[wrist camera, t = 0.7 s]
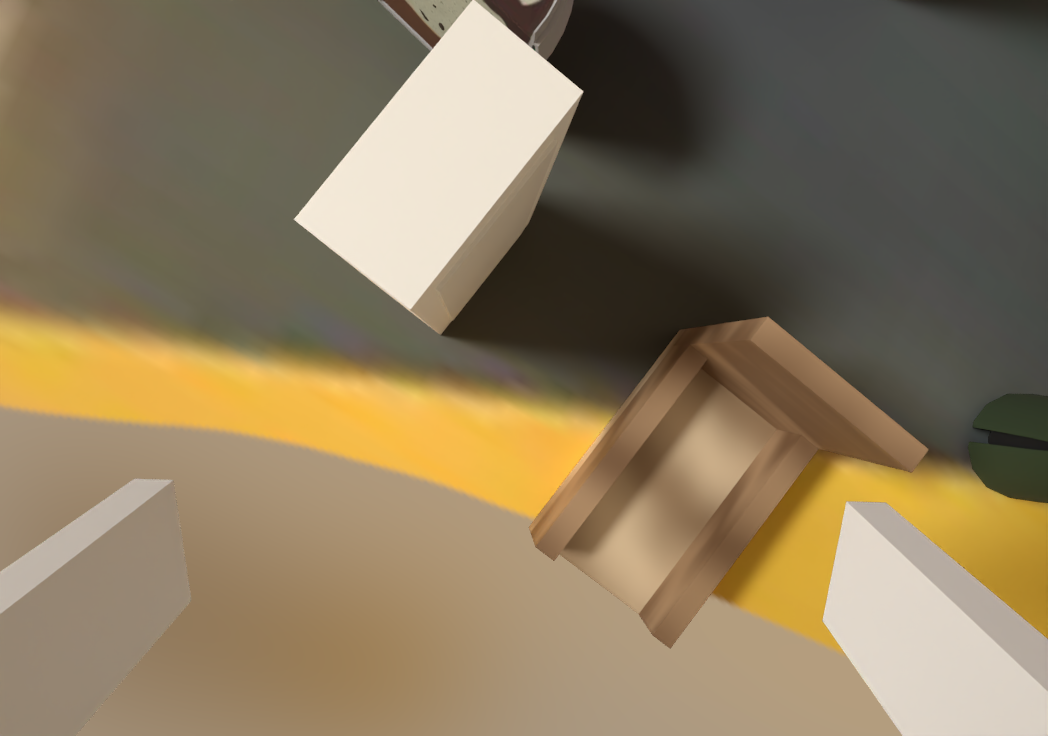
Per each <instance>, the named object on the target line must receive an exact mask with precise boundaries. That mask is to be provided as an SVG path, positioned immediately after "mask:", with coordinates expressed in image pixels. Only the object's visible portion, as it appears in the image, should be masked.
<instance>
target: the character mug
mask: <svg viewBox="0 0 1048 736" xmlns="http://www.w3.org/2000/svg"><path fill="white" fill-rule="evenodd" d="M973 427H975V428H981V429H986V430H992V431H991V433H990V435H989V437H988V443H989V444H984V443H976V442H969V445H968V450H969V455H970V459H971V463H972V468H973V470H974V471H975V472H976V474H977V475H978V476H979V478H980V479H981V480H982V482H983V483H984V484H985V485H986V487H988V488H990V489H992V490H994V491H997V492H999V493H1001V494H1003V495H1005V496H1007V497H1010V498H1015V499H1022V500H1029V501H1035V502H1043V503H1048V396H1041V395H1035V394H1006V395H1004V396H1002V397H1000V398H998V399H996V400H994V401H992V402H990V403H988V404H987V405H986V406H985V407H984V409H983V410H982V411H981V413H980V414H979V415H978V416H977V418H976V419H975V420H974V422H973Z"/></svg>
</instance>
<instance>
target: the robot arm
mask: <svg viewBox="0 0 1048 736" xmlns="http://www.w3.org/2000/svg"><path fill="white" fill-rule="evenodd" d="M190 602H191V594H190V587H189V581H188V574H187V567H186V561H185V554H184V548H183V541H182V534H181V527H180V521H179V514H178V508H177V501H176V494H175V487H174V481H173V480H153V479H152V480H151V479H133V480H132V481H131V482H129V483H128V484H126V485H125V486H123V487H122V488H121V489H119V490H118V491H116V492H115V493H114V494H112V495H110V496H109V497H108V498H106V499H105V500H104V501H102V502H100V503H99V504H97V505H96V506H95V507H93V508H92V509H90V510H89V511H87V512H86V513H84V514H83V515H82V516H80V517H79V518H77V519H76V520H74V521H73V522H71V523H70V524H69V525H67V526H66V527H64V528H63V529H62V530H60V531H59V532H57V533H56V534H54V535H53V536H51V537H50V538H48V539H47V540H45V541H44V542H43V543H41V544H40V545H38V546H37V547H36V548H34V549H33V550H31V551H30V552H28V553H27V554H25V555H24V556H22V557H21V558H20V559H18V560H17V561H15V562H14V563H12V564H11V565H9V566H8V567H7V568H5V569H4V570H2V571H1V572H0V736H76V735H77V734H78V732H79V731H80V730H81V729H82V728H83V727H84V725H85V724H86V723H87V722H88V721H89V720H90V718H91V717H92V716H93V715H94V714H95V712H96V711H97V710H98V709H99V708H100V707H101V706H102V704H103V703H104V702H105V701H106V700H107V699H108V697H109V696H110V695H111V694H112V693H113V691H114V690H115V689H116V688H117V687H118V686H119V684H120V683H121V682H122V681H123V680H124V679H125V677H126V676H127V675H128V674H129V673H130V672H131V670H132V669H133V668H134V667H135V666H136V665H137V663H138V662H139V661H140V660H141V659H142V658H143V656H144V655H145V654H146V653H147V652H148V651H149V649H150V648H151V647H152V646H153V645H154V643H155V642H156V641H157V640H158V639H159V638H160V637H161V635H162V634H163V633H164V632H165V631H166V630H167V628H168V627H169V626H170V625H171V624H172V622H173V621H174V620H175V619H176V618H177V617H178V616H179V614H180V613H181V612H182V611H183V610H184V609H185V607H186V606H187V605H188V604H189V603H190ZM823 622H824V624H825V625H826V627H827V628H828V630H829V631H830V632H831V634H832V635H833V637H834V638H835V640H836V641H837V642H838V644H839V645H840V647H841V648H842V650H843V651H844V652H845V654H846V655H847V657H848V658H849V660H850V661H851V662H852V664H853V665H854V667H855V668H856V670H857V671H858V672H859V674H860V675H861V677H862V678H863V680H864V681H865V682H866V684H867V685H868V686H869V688H870V690H871V691H872V693H873V694H874V695H875V697H876V698H877V700H878V701H879V702H880V704H881V705H882V707H883V708H884V710H885V711H886V712H887V714H888V715H889V717H890V718H891V720H892V721H893V722H894V724H895V725H896V727H897V728H898V730H899V731H900V733H901V734H902V735H903V736H1048V639H1047V638H1046V637H1045V636H1043V635H1042V634H1041V633H1040V632H1039V631H1038V630H1036V629H1035V628H1034V627H1033V626H1032V625H1030V624H1029V623H1028V622H1027V621H1026V620H1025V619H1023V618H1022V617H1021V616H1020V615H1019V614H1017V613H1016V612H1015V611H1014V610H1013V609H1011V608H1010V607H1009V606H1008V605H1007V604H1006V603H1004V602H1003V601H1002V600H1001V599H1000V598H998V597H997V596H996V595H995V594H994V593H992V592H991V591H990V590H989V589H988V588H987V587H985V586H984V585H983V584H982V583H981V582H979V581H978V580H977V579H976V578H975V577H973V576H972V575H971V574H970V573H969V572H968V571H966V570H965V569H964V568H963V567H962V566H960V565H959V564H958V563H957V562H956V561H955V560H953V559H952V558H951V557H950V556H949V555H947V554H946V553H945V552H944V551H943V550H941V549H940V548H939V547H938V546H937V545H936V544H934V543H933V542H932V541H931V540H930V539H928V538H927V537H926V536H925V535H924V534H922V533H921V532H920V531H919V530H918V529H917V528H915V527H914V526H913V525H912V524H911V523H909V522H908V521H907V520H906V519H905V518H903V517H902V516H901V515H900V514H899V513H898V512H896V511H895V510H894V509H893V508H892V507H890V506H889V505H888V504H887V503H879V502H847V501H846V506H845V511H844V516H843V521H842V526H841V531H840V536H839V541H838V546H837V551H836V556H835V561H834V566H833V571H832V576H831V581H830V586H829V591H828V596H827V601H826V606H825V611H824V616H823Z"/></svg>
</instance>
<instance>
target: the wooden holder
mask: <svg viewBox="0 0 1048 736" xmlns="http://www.w3.org/2000/svg"><path fill="white" fill-rule="evenodd" d="M818 449H821V450H825V451H829V452H833V453H837V454H841V455H845V456H849V457H853V458H857V459H861V460H865V461H869V462H873V463H876V464H880V465H884V466H888V467H892V468H896V469H900V470H904V471H908V472H913V470H914V469H915V468H916V466H917V465H918V463H919V462H920V461H921V459H922V458H923V457H924V455H925V454H926V453H927V451H928V450H929V449H927V448H926V447H925V446H924V445H923V444H921V443H920V442H919V441H918V440H917V439H915V438H914V437H913V436H912V435H911V434H909V433H908V432H907V431H906V430H904V429H903V428H902V427H901V426H900V425H898V424H897V423H896V422H895V421H894V420H892V419H891V418H890V417H889V416H888V415H886V414H885V413H884V412H883V411H882V410H880V409H879V408H878V407H877V406H875V405H874V404H873V403H872V402H871V401H869V400H868V399H867V398H866V397H865V396H863V395H862V394H861V393H860V392H859V391H857V390H856V389H855V388H854V387H852V386H851V385H850V384H849V383H848V382H846V381H845V380H844V379H843V378H842V377H840V376H839V375H838V374H837V373H836V372H834V371H833V370H832V369H831V368H830V367H828V366H827V365H826V364H825V363H823V362H822V361H821V360H820V359H819V358H817V357H816V356H815V355H814V354H813V353H811V352H810V351H809V350H808V349H807V348H805V347H804V346H803V345H802V344H801V343H799V342H798V341H797V340H796V339H794V338H793V337H792V336H791V335H790V334H788V333H787V332H786V331H785V330H784V329H782V328H781V327H780V326H779V325H778V324H776V323H775V322H774V321H773V320H772V319H770V318H769V317H763V318H756V319H749V320H743V321H736V322H729V323H722V324H716V325H709V326H702V327H695V328H689V329H682V330H679V332H678V333H677V334H676V335H675V337H674V338H673V339H672V341H671V342H670V343H669V345H668V346H667V347H666V349H665V350H664V351H663V352H662V354H661V355H660V356H659V358H658V359H657V360H656V362H655V363H654V364H653V365H652V367H651V368H650V369H649V371H648V372H647V373H646V375H645V376H644V377H643V379H642V380H641V381H640V382H639V384H638V385H637V386H636V388H635V389H634V390H633V392H632V393H631V394H630V396H629V397H628V398H627V399H626V401H625V402H624V403H623V405H622V406H621V407H620V409H619V410H618V411H617V413H616V414H615V415H614V416H613V418H612V419H611V420H610V422H609V423H608V424H607V426H606V427H605V428H604V430H603V431H602V432H601V433H600V435H599V436H598V437H597V439H596V440H595V441H594V443H593V444H592V445H591V447H590V448H589V449H588V450H587V452H586V453H585V454H584V456H583V457H582V458H581V460H580V461H579V462H578V464H577V465H576V466H575V467H574V469H573V470H572V471H571V473H570V474H569V475H568V477H567V478H566V479H565V480H564V482H563V483H562V484H561V486H560V487H559V488H558V490H557V491H556V492H555V494H554V495H553V496H552V497H551V499H550V500H549V501H548V503H547V504H546V505H545V507H544V508H543V509H542V511H541V512H540V513H539V514H538V516H537V517H536V518H535V520H534V521H533V522H532V524H531V525H530V526H529V529H530V532H531V535H532V538H533V541H534V544H535V547H536V548H538V549H539V550H540V551H542V552H543V553H545V555H547V556H548V557H549V558H551V559H552V560H553V561H554V560H555V559H556V558H557V556H558V555H559V554H560V555H561V556H562V557H564V558H565V559H566V560H568V561H569V562H570V563H572V564H573V565H574V566H576V567H577V568H578V569H580V570H581V571H582V572H584V573H585V574H586V575H588V576H589V577H590V578H591V579H593V580H594V581H595V582H597V583H598V584H599V585H601V586H602V587H603V588H605V589H606V590H607V591H609V592H610V593H611V594H613V595H614V596H615V597H617V598H618V599H619V600H621V601H622V602H623V603H625V604H626V605H627V606H629V607H630V608H631V609H633V610H634V611H635V612H636V613H638V614H639V615H640V617H641V619H642V620H643V621H644V623H645V624H646V626H647V628H648V629H649V631H650V632H651V634H652V635H653V636H654V637H656V638H657V639H658V640H660V641H661V642H662V643H663V644H665V645H666V646H668V647H669V648H671V647H672V646H673V644H674V643H675V642H676V640H677V639H678V638H679V636H680V635H681V634H682V632H683V631H684V630H685V628H686V627H687V625H688V624H689V623H690V622H691V620H692V619H693V617H694V616H695V615H696V613H697V612H698V611H699V609H700V608H701V607H702V605H703V604H704V603H705V601H706V600H707V598H708V597H709V596H710V595H711V593H712V592H713V591H714V589H715V588H716V587H717V585H718V584H719V582H720V581H721V580H722V578H723V577H724V576H725V574H726V573H727V572H728V570H729V569H730V568H731V566H732V565H733V564H734V562H735V561H736V560H737V558H738V557H739V556H740V554H741V553H742V551H743V550H744V549H745V547H746V546H747V545H748V543H749V542H750V541H751V539H752V538H753V537H754V535H755V534H756V533H757V531H758V530H759V529H760V527H761V526H762V525H763V523H764V522H765V521H766V519H767V518H768V516H769V515H770V514H771V512H772V511H773V510H774V508H775V507H776V506H777V504H778V503H779V502H780V500H781V499H782V498H783V496H784V495H785V494H786V492H787V491H788V490H789V488H790V487H791V486H792V484H793V483H794V481H795V480H796V479H797V477H798V476H799V475H800V473H801V472H802V471H803V469H804V468H805V467H806V465H807V464H808V463H809V461H810V460H811V459H812V457H813V456H814V455H815V453H816V452H817V450H818Z"/></svg>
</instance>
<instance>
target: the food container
mask: <svg viewBox="0 0 1048 736" xmlns="http://www.w3.org/2000/svg"><path fill="white" fill-rule="evenodd" d="M378 1H379V2H380V3H381V4H382V5H383V6H384V7H385V8H386V9H387V10H388V11H389V12H390V13H391V14H392V15H393V16H394V17H395V18H396V19H397V20H399V21H400V22H401V23H402V24H403V25H404V26H405V27H406V28H407V29H408V30H409V31H410V32H411V33H412V34H413V35H414V36H415V37H416V38H417V39H418V40H419V41H420V42H421V43H422V44H423V45H424V46H425V47H426V48H428V49H429V50H430V51H431V50H432V49H433V48H434V47H435V46H436V44H437V43H438V42H439V41H440V39H441V38H442V37H443V36H444V34H445V33H446V32H447V31H448V30H449V28H450V27H451V26H452V25H453V23H454V22H455V21H456V20H457V18H458V17H459V16H460V15H461V14H462V12H463V11H464V10H465V9H466V7H467V6H468V5H469V4H470V2H471V1H472V0H378ZM475 1H476V2H477V3H478V4H480V5H481V6H482V7H483V8H484V9H486V10H487V11H488V12H489V13H490V14H492V15H493V16H494V17H495V18H496V19H497V20H499V21H500V22H501V23H502V24H503V25H505V26H506V27H507V28H508V29H509V30H511V31H512V32H513V33H514V34H515V35H517V36H518V37H519V38H520V39H521V40H522V41H524V42H525V43H526V44H527V45H528V46H530V47H531V48H532V49H533V50H534V51H536V52H537V53H538V54H539V55H540V56H542V57H543V58H544V59H545V60H547V59H548V57H549V56H550V55H551V54H552V52H553V51H554V49H555V47H556V45H557V44H558V42H559V40H560V38H561V36H562V35H563V33H564V30H565V28H566V25H567V22H568V19H569V17H570V14H571V11H572V6H573V1H574V0H475Z"/></svg>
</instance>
